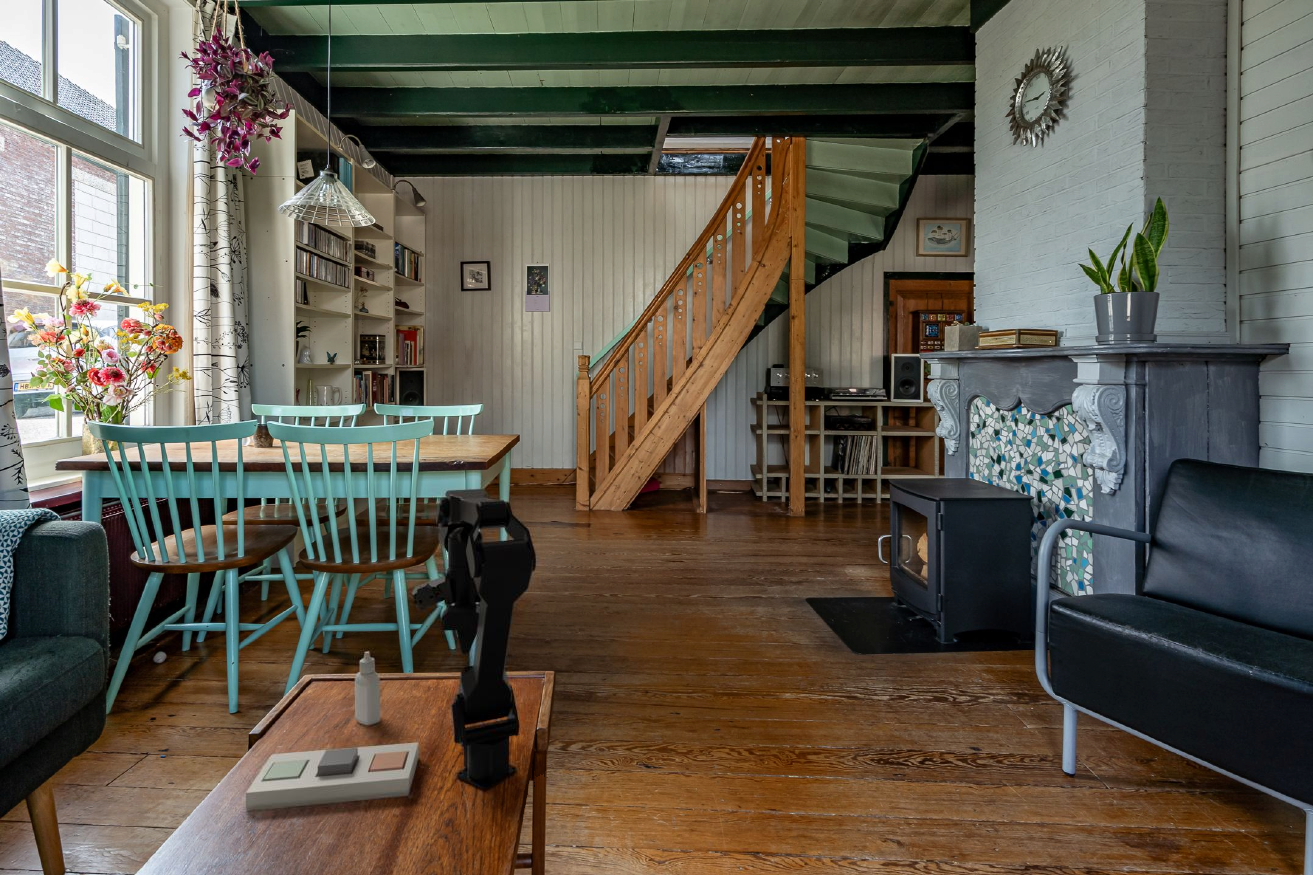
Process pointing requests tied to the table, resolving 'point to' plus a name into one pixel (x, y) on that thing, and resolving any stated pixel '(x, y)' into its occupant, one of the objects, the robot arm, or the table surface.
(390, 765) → the terracotta key
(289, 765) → the sage key
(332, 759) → the charcoal key
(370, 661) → the eye dropper bottle
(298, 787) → the keypad frame
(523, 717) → the table surface
